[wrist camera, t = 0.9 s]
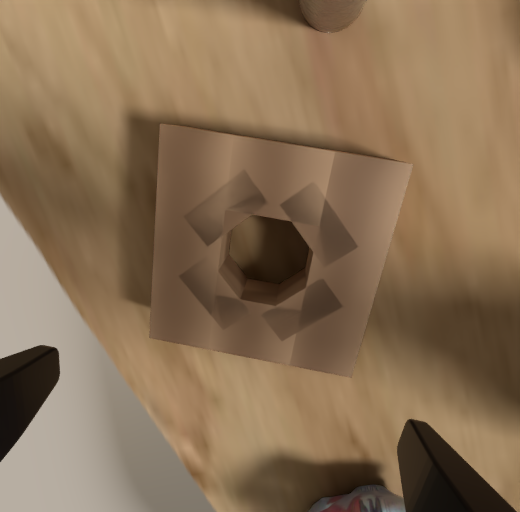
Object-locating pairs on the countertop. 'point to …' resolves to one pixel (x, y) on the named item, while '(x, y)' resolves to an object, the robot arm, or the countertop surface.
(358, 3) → the round bit
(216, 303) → the bore block
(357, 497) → the brake caliper
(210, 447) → the countertop surface
